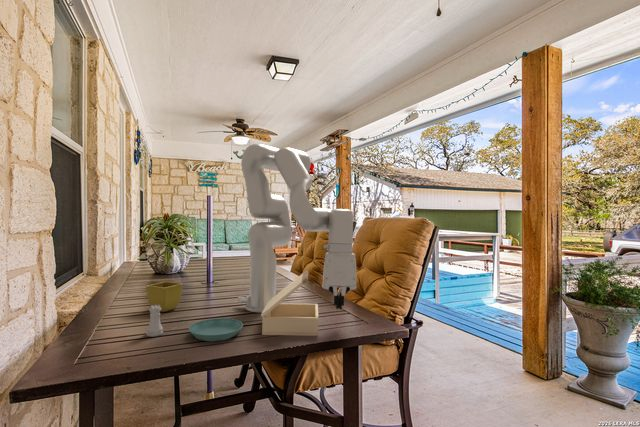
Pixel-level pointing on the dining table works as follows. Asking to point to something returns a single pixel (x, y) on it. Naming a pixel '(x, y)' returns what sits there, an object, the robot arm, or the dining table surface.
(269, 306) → the box lid
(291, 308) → the cream open box
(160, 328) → the rook chess piece
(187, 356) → the dining table surface
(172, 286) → the flower pot
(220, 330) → the saucer
